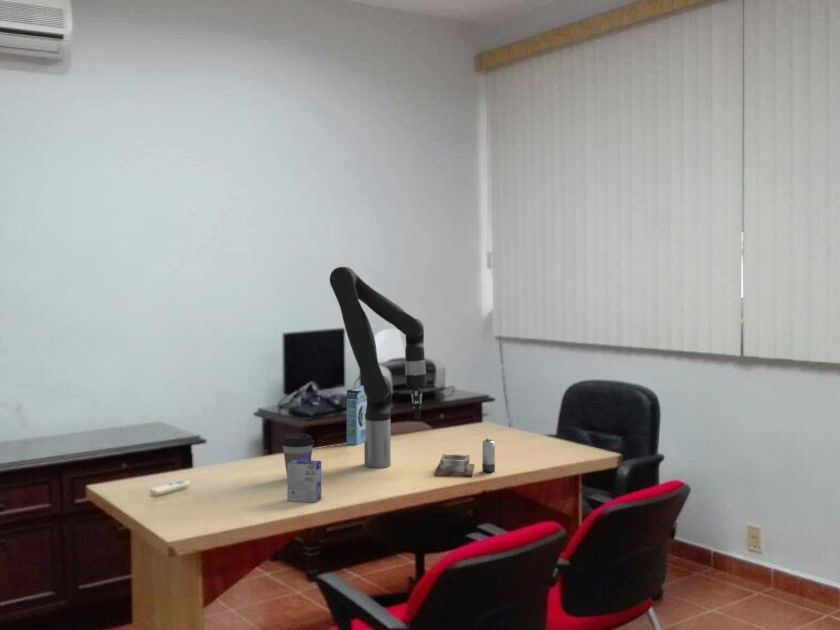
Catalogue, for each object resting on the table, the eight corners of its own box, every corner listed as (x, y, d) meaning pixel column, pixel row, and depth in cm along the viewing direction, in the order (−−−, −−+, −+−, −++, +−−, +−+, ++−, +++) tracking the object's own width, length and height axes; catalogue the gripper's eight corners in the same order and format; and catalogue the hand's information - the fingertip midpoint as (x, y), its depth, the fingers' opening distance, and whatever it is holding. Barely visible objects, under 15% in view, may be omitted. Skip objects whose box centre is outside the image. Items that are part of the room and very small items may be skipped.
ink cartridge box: (322, 498, 272) (322, 453, 271) (316, 503, 266) (316, 457, 266) (292, 496, 274) (292, 451, 273) (286, 501, 268) (286, 455, 268)
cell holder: (434, 476, 301) (434, 461, 301) (439, 465, 317) (439, 452, 317) (471, 477, 300) (471, 462, 300) (474, 466, 316) (474, 453, 316)
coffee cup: (305, 484, 290) (304, 440, 289) (275, 481, 294) (274, 438, 293) (320, 476, 300) (320, 434, 300) (291, 474, 304) (291, 432, 304)
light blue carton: (364, 436, 374) (364, 384, 373) (375, 436, 373) (374, 384, 372) (346, 444, 356) (345, 389, 355) (357, 445, 354) (357, 390, 353)
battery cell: (482, 472, 306) (482, 440, 306) (482, 470, 311) (482, 437, 310) (494, 473, 306) (494, 440, 305) (495, 470, 310) (495, 437, 310)
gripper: (406, 371, 322) (408, 415, 322) (404, 375, 308) (406, 420, 308) (426, 371, 322) (428, 414, 322) (425, 374, 307) (427, 419, 308)
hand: (417, 417), depth 315 cm, fingers open, 8 cm apart
